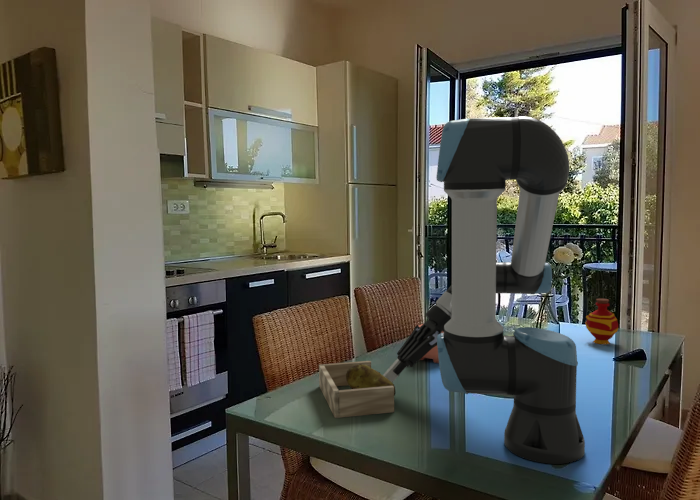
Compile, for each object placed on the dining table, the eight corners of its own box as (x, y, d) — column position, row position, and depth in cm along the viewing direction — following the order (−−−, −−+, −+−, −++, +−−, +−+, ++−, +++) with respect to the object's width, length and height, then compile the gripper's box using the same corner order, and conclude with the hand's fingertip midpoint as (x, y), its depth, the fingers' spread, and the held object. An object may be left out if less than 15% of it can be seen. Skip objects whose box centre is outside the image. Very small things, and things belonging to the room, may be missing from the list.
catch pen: (394, 412, 127) (394, 387, 127) (334, 418, 124) (334, 392, 124) (370, 381, 149) (370, 360, 149) (319, 386, 146) (318, 364, 146)
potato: (374, 409, 129) (372, 377, 128) (342, 396, 139) (340, 365, 138) (400, 399, 134) (398, 368, 133) (366, 387, 144) (365, 358, 143)
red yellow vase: (619, 340, 189) (620, 298, 187) (616, 347, 180) (617, 303, 179) (587, 337, 194) (588, 296, 193) (582, 343, 186) (583, 300, 184)
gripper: (465, 328, 136) (402, 399, 134) (445, 317, 148) (388, 382, 146) (445, 308, 134) (381, 380, 132) (427, 299, 147) (368, 365, 145)
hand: (385, 381), depth 139 cm, fingers closed
